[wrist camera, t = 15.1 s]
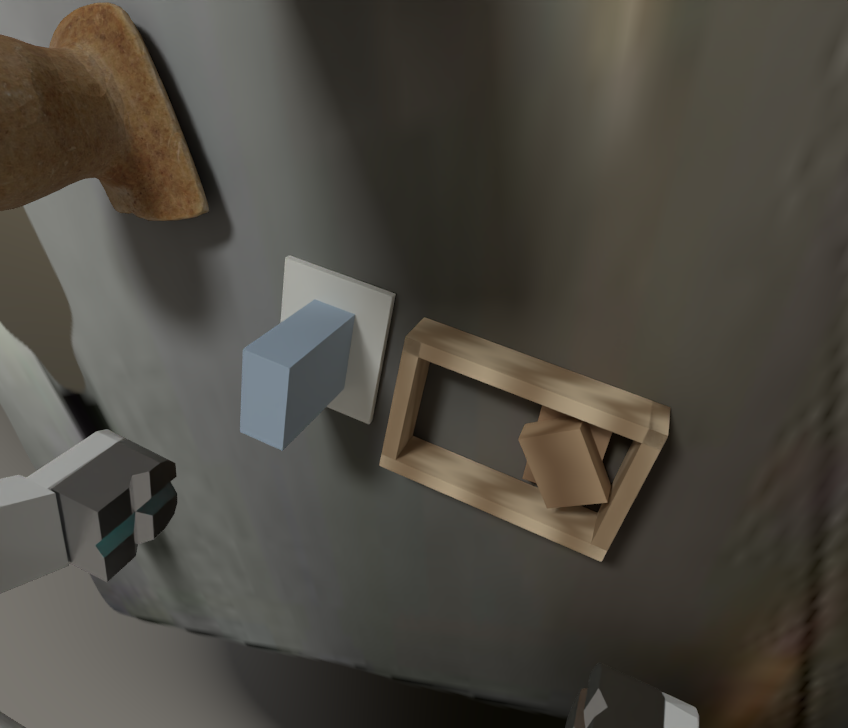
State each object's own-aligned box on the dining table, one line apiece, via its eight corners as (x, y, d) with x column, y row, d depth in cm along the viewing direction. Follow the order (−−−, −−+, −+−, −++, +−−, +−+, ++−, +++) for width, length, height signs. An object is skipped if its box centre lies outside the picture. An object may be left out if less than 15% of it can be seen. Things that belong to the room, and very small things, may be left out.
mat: (395, 293, 44) (392, 296, 44) (372, 420, 51) (369, 424, 50) (289, 255, 46) (285, 257, 46) (280, 382, 53) (276, 385, 52)
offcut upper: (584, 413, 42) (580, 428, 40) (611, 485, 43) (607, 502, 42) (525, 424, 44) (518, 439, 42) (552, 491, 45) (546, 508, 44)
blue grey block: (355, 314, 46) (289, 368, 39) (344, 388, 50) (282, 450, 42) (314, 299, 47) (243, 348, 39) (306, 373, 50) (239, 431, 43)
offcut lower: (617, 410, 43) (614, 425, 41) (591, 484, 46) (588, 501, 45) (548, 389, 44) (542, 403, 42) (528, 463, 48) (522, 478, 46)
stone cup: (36, 39, 46) (-203, 42, 34) (143, -16, 41) (-94, -36, 29) (123, 233, 52) (-54, 295, 40) (228, 206, 47) (60, 268, 34)
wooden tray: (670, 407, 40) (668, 435, 38) (607, 529, 47) (601, 562, 44) (424, 317, 44) (405, 336, 42) (397, 441, 51) (379, 465, 48)
